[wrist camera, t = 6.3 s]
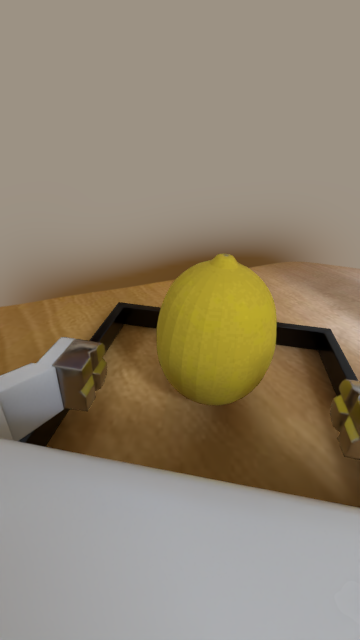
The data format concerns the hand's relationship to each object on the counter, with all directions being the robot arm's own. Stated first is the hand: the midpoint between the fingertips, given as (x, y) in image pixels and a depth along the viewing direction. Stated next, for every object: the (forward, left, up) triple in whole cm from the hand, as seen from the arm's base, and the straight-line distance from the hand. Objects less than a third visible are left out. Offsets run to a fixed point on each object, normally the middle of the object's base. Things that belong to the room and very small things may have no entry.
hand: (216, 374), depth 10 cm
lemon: (0, +4, -5) cm, 6 cm away
